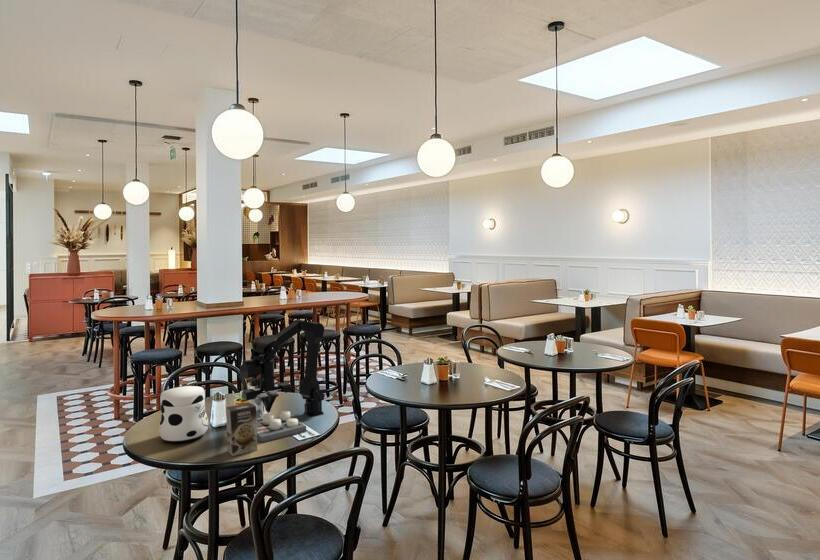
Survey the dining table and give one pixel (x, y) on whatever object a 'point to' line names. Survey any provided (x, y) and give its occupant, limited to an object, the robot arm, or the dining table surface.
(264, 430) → the puzzle board
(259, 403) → the beer glass
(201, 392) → the milk container
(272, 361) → the robot arm
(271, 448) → the dining table surface
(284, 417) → the button
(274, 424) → the button
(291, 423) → the button
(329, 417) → the dining table surface
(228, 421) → the coffee box
